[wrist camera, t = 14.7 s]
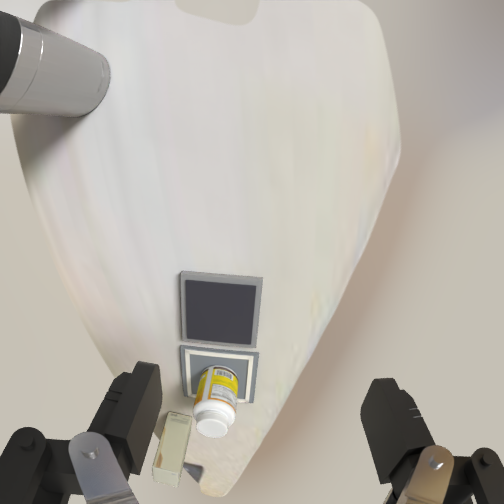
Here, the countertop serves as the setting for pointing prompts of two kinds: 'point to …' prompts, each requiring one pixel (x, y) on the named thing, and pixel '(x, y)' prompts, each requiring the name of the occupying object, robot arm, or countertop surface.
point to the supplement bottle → (216, 401)
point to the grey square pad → (238, 361)
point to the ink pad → (220, 308)
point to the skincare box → (172, 449)
